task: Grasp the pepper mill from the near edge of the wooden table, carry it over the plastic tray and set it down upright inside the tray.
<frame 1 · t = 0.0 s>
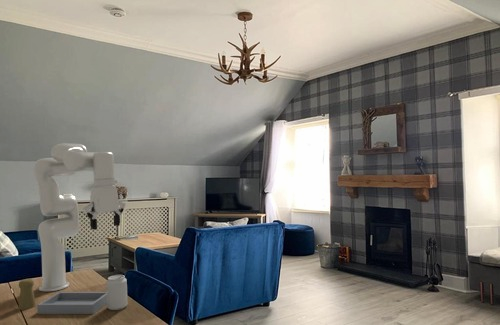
hand: (105, 227, 148), 31 cm above the table, tool pointing down, fingers open, 9 cm apart
can: (117, 308, 148), on the table
tray: (75, 306, 150), on the table
pepper mill: (27, 307, 152), on the table
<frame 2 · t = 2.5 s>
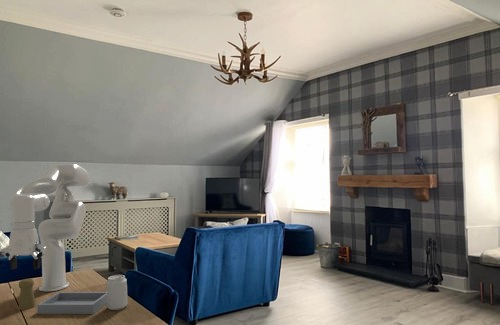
hand: (25, 269, 151), 15 cm above the table, tool pointing down, fingers open, 9 cm apart
nothing on the table moved.
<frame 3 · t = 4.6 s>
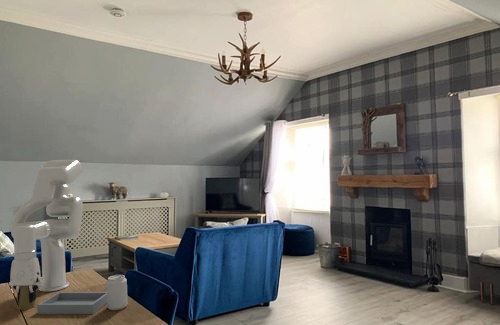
hand: (26, 301, 152), 2 cm above the table, tool pointing down, fingers closed on pepper mill, 4 cm apart
pepper mill: (27, 307, 152), on the table, touching gripper
everything else where it was.
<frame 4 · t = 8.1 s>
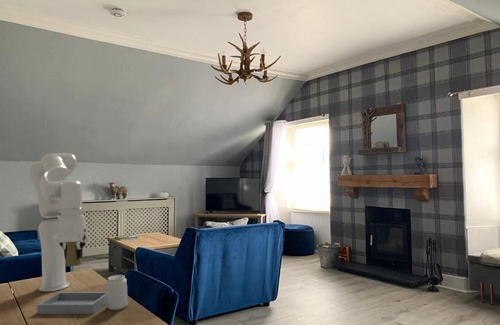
hand: (73, 258, 150), 19 cm above the table, tool pointing down, fingers closed on pepper mill, 4 cm apart
pepper mill: (73, 264, 150), point 17 cm above the table, touching gripper
everything else where it was.
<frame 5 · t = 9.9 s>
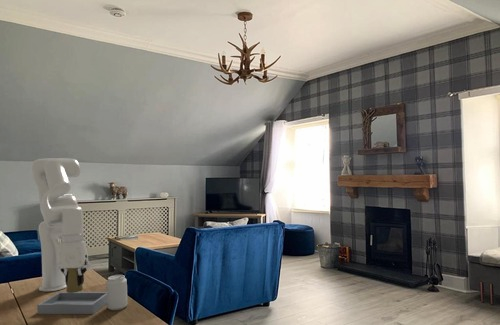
hand: (74, 284, 150), 9 cm above the table, tool pointing down, fingers closed on pepper mill, 4 cm apart
pepper mill: (74, 290, 150), point 6 cm above the table, touching gripper
everything else where it was.
when the fingers open (5 cm above the table, at t = 11.5 s): pepper mill drops 1 cm, resting on tray.
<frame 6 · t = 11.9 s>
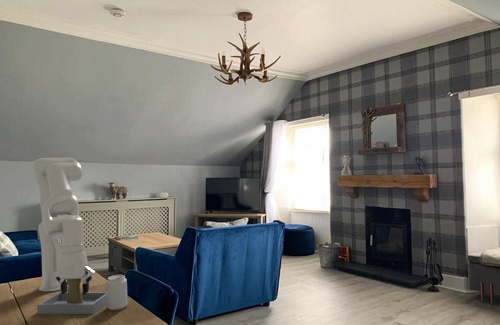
hand: (75, 292, 150), 6 cm above the table, tool pointing down, fingers open, 8 cm apart
pepper mill: (74, 304, 150), point 1 cm above the table, touching tray
everything else where it was.
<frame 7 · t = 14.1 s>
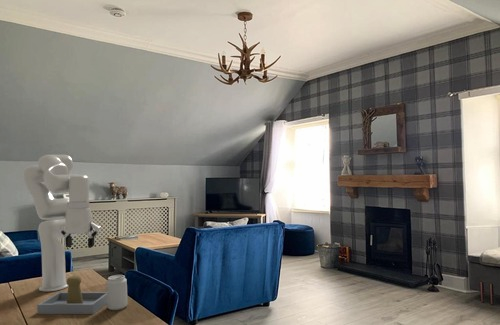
hand: (80, 246, 156), 22 cm above the table, tool pointing down, fingers open, 9 cm apart
nothing on the table moved.
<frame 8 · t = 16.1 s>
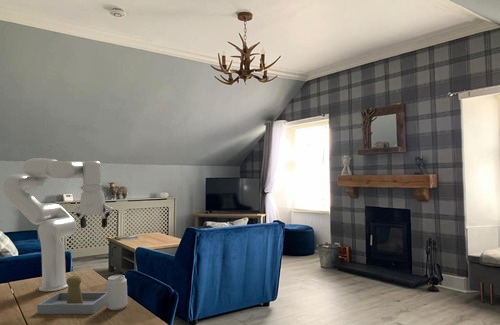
hand: (93, 227, 169), 28 cm above the table, tool pointing down, fingers open, 9 cm apart
nothing on the table moved.
at the end: pepper mill inside the target area on the tray (0.2 cm from its centre), point 0.8 cm above the tray's base; pepper mill tilted 0°; the gripper is holding nothing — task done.
